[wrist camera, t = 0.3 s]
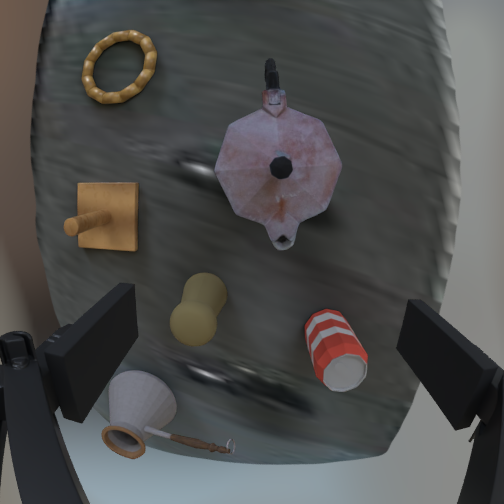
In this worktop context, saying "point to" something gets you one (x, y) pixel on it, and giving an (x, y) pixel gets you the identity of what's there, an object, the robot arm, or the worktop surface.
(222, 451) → the coffee pot
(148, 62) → the ring
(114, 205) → the wooden peg stand
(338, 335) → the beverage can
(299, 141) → the moka pot
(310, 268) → the worktop surface
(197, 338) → the cork
